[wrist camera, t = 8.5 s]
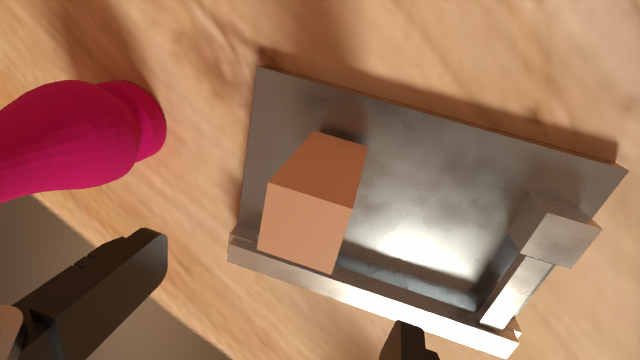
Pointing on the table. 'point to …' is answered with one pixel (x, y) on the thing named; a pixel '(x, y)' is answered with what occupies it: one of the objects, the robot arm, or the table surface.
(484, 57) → the table surface
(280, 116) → the hole plate
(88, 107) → the pepper mill
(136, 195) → the table surface
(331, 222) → the block
